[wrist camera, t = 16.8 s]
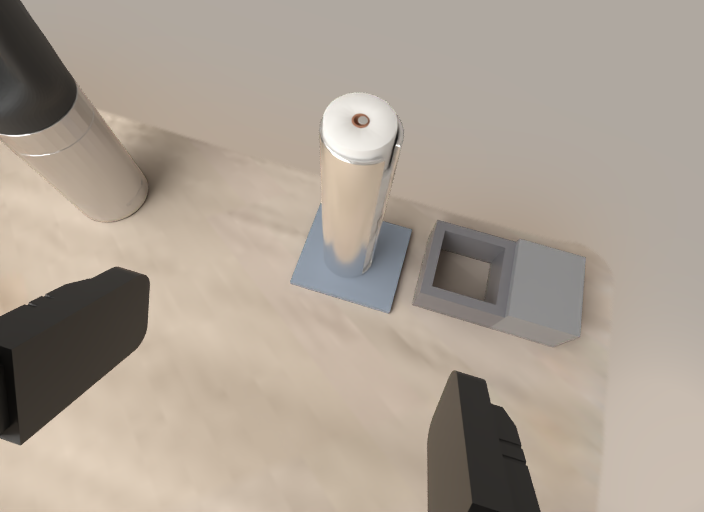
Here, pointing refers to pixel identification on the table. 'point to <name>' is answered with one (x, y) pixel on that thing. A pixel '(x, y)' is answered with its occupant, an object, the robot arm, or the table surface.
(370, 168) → the chrome and white cylinder
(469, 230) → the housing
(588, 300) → the table surface
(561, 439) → the table surface
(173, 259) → the table surface
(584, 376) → the table surface
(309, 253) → the rubber mat
